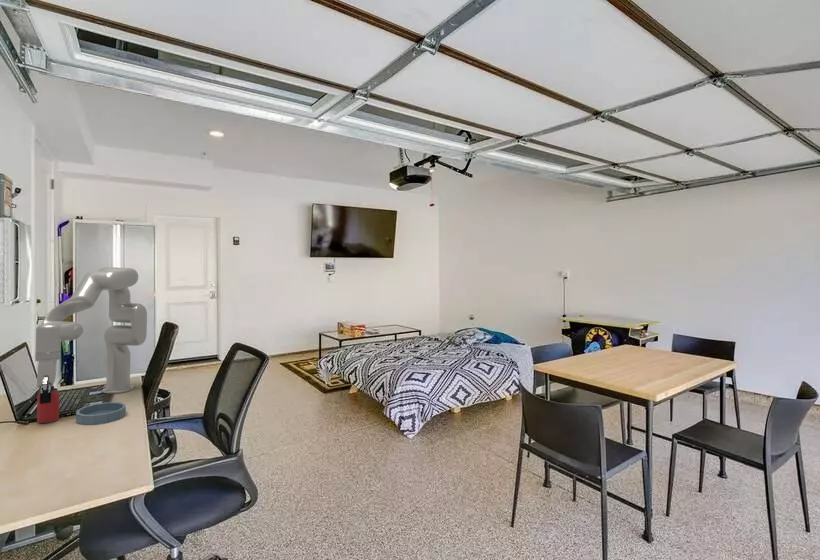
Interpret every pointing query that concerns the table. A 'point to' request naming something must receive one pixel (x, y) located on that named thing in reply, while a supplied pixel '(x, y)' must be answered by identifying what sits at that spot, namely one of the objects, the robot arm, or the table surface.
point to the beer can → (48, 408)
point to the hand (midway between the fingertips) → (46, 399)
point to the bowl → (100, 413)
